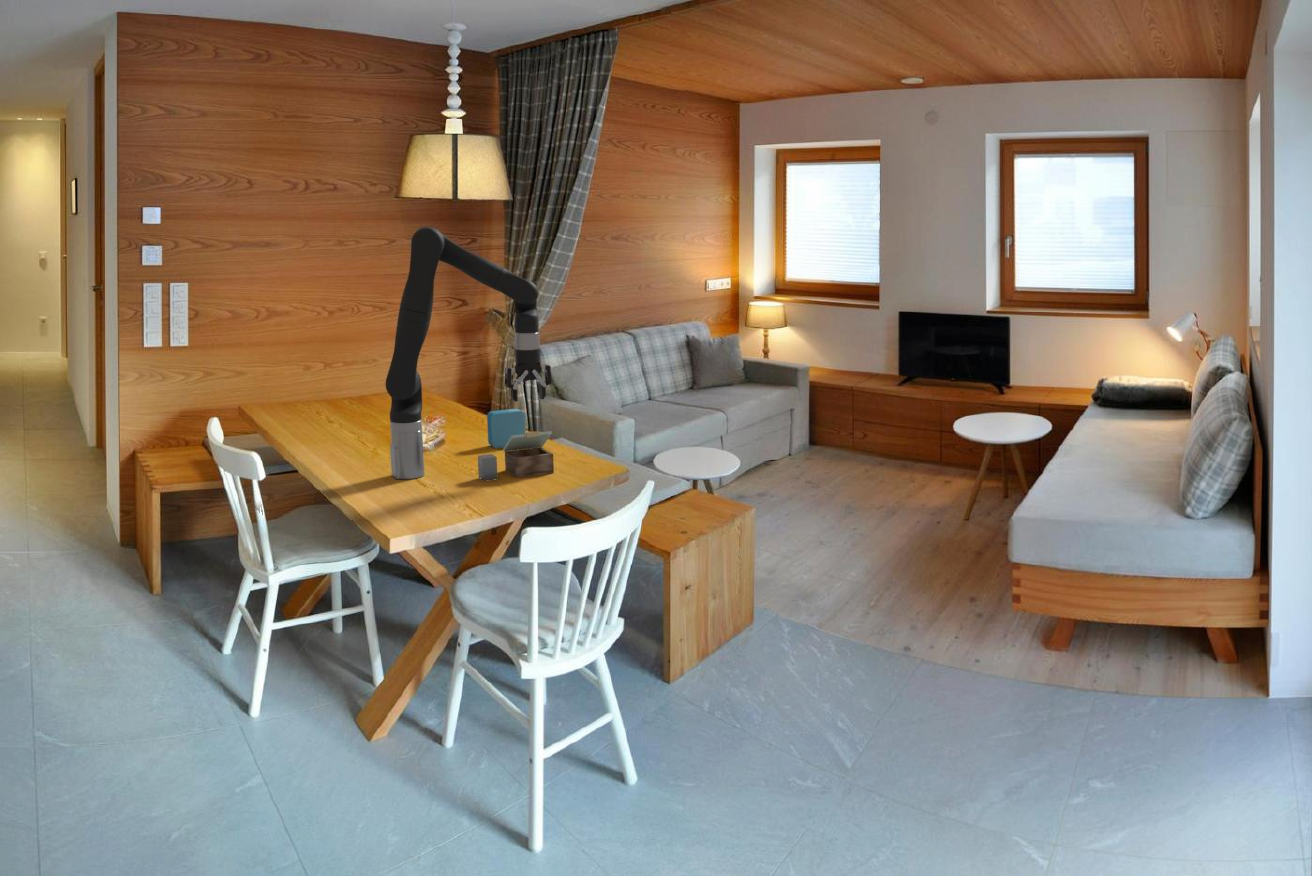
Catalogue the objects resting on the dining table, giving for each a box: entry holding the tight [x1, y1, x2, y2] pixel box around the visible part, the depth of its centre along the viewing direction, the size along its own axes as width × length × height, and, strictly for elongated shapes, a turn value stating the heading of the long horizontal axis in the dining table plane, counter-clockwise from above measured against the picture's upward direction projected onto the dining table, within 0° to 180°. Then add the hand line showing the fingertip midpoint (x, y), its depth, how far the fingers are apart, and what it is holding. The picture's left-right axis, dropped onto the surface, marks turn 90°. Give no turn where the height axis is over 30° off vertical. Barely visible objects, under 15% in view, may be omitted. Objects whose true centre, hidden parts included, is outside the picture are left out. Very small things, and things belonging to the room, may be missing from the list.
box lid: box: [502, 430, 553, 453], centre depth 322 cm, size 13×11×2 cm
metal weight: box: [477, 453, 498, 482], centre depth 314 cm, size 4×4×7 cm
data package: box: [486, 408, 526, 449], centre depth 357 cm, size 12×4×12 cm, turn 117°
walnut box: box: [504, 447, 555, 479], centre depth 323 cm, size 12×10×6 cm
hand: (528, 400), depth 319 cm, fingers open, 8 cm apart
